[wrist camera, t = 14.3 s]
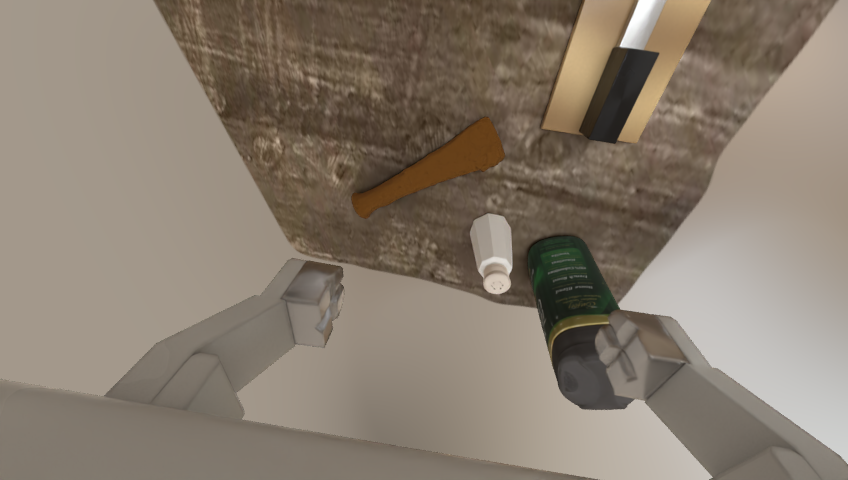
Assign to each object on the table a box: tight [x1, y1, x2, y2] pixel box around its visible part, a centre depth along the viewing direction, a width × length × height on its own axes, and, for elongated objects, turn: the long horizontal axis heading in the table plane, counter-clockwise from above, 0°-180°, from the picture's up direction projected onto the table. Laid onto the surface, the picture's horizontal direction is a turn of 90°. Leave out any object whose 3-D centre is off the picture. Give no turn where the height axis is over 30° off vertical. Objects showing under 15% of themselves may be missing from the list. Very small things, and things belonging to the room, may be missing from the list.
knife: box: [579, 0, 667, 144], centre depth 25 cm, size 18×3×3 cm, turn 173°
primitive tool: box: [351, 117, 505, 219], centre depth 35 cm, size 19×6×4 cm, turn 121°
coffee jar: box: [528, 236, 634, 410], centre depth 34 cm, size 10×8×19 cm
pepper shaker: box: [470, 213, 512, 294], centre depth 36 cm, size 5×5×11 cm
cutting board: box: [541, 0, 711, 143], centre depth 26 cm, size 20×10×1 cm, turn 173°
